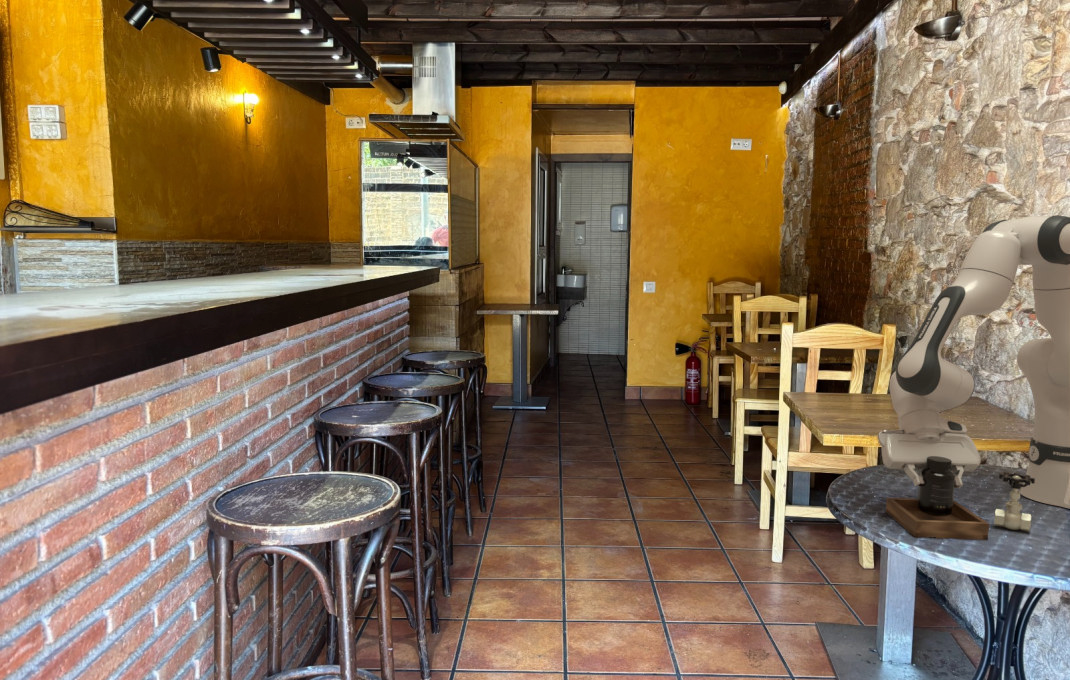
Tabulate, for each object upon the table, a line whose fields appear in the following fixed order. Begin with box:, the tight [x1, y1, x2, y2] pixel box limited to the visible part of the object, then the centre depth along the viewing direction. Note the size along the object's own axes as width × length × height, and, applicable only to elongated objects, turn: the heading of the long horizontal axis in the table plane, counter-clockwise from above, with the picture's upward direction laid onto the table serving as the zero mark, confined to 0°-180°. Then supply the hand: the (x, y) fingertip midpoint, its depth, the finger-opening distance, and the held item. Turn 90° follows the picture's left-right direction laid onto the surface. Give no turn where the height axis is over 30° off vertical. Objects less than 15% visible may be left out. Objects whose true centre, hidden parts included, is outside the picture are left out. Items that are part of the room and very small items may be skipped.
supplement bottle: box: [917, 456, 956, 516], centre depth 167 cm, size 7×7×12 cm
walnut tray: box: [885, 497, 990, 541], centre depth 168 cm, size 15×15×4 cm
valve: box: [993, 471, 1035, 532], centre depth 166 cm, size 7×7×12 cm
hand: (938, 485), depth 166 cm, fingers closed on supplement bottle, 7 cm apart
